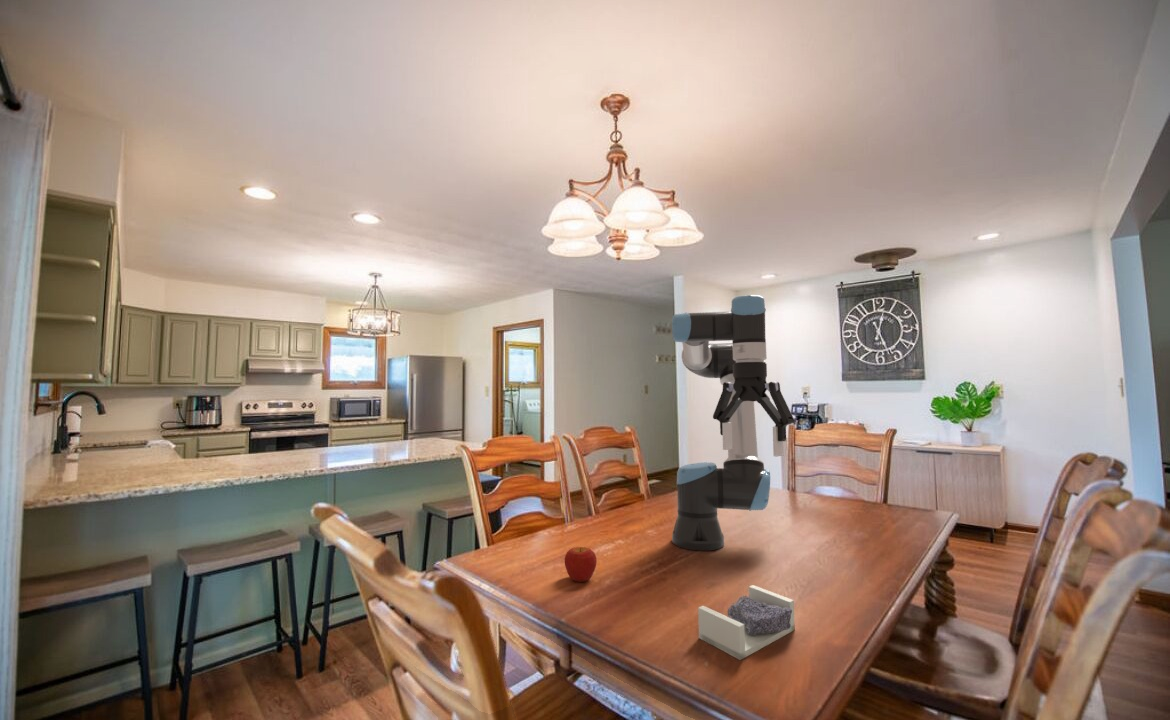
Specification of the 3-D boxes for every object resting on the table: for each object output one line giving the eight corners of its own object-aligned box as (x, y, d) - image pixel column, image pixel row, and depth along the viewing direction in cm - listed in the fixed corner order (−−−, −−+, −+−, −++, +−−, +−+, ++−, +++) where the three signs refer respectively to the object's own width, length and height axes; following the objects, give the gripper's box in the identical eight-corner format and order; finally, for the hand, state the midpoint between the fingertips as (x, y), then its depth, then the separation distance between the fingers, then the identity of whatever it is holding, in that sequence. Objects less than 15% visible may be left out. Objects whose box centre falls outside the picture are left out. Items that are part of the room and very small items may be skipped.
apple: (600, 575, 119) (600, 543, 119) (590, 588, 111) (590, 553, 112) (571, 571, 121) (571, 540, 122) (559, 583, 114) (559, 550, 114)
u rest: (698, 638, 89) (698, 607, 89) (753, 612, 99) (752, 584, 99) (740, 660, 81) (739, 626, 82) (794, 629, 91) (793, 600, 92)
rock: (797, 604, 90) (765, 612, 84) (797, 635, 89) (765, 645, 83) (744, 587, 99) (711, 593, 94) (744, 614, 98) (711, 622, 93)
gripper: (697, 363, 120) (699, 448, 119) (790, 358, 100) (793, 460, 99) (716, 363, 125) (718, 445, 124) (809, 359, 105) (812, 457, 104)
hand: (751, 452), depth 111 cm, fingers open, 13 cm apart
